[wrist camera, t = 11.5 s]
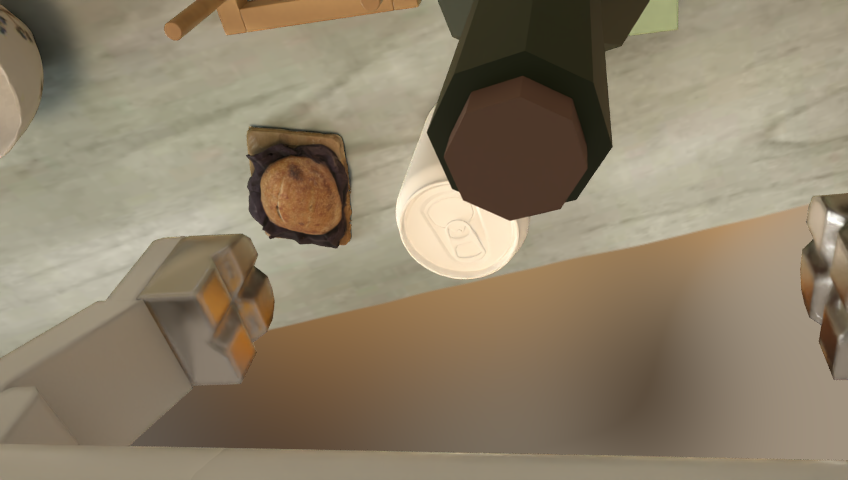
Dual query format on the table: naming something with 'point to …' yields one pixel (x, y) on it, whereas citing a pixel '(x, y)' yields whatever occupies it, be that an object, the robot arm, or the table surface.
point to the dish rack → (275, 13)
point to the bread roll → (299, 186)
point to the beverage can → (451, 222)
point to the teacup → (17, 79)
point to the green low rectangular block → (657, 17)
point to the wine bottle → (527, 99)
